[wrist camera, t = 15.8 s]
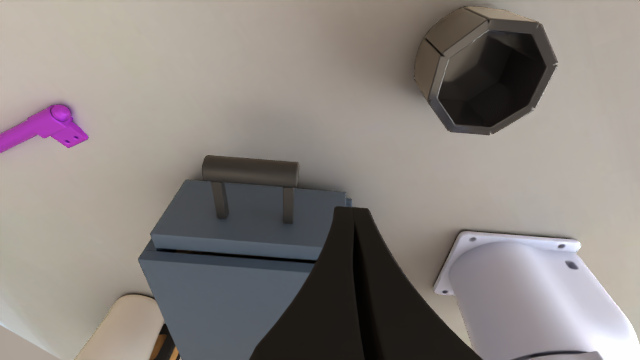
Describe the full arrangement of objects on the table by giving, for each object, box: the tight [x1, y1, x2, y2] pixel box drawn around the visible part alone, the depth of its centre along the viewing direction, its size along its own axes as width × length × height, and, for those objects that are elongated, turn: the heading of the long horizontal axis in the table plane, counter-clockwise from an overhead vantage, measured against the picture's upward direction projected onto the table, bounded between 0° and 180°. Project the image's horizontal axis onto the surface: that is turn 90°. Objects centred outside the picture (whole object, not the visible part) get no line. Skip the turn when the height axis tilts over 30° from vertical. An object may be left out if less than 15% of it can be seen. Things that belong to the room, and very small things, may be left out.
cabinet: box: [138, 198, 352, 360], centre depth 25 cm, size 14×12×7 cm
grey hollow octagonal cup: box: [414, 6, 558, 135], centre depth 15 cm, size 5×5×4 cm
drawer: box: [150, 155, 346, 264], centre depth 22 cm, size 18×11×5 cm, turn 176°
